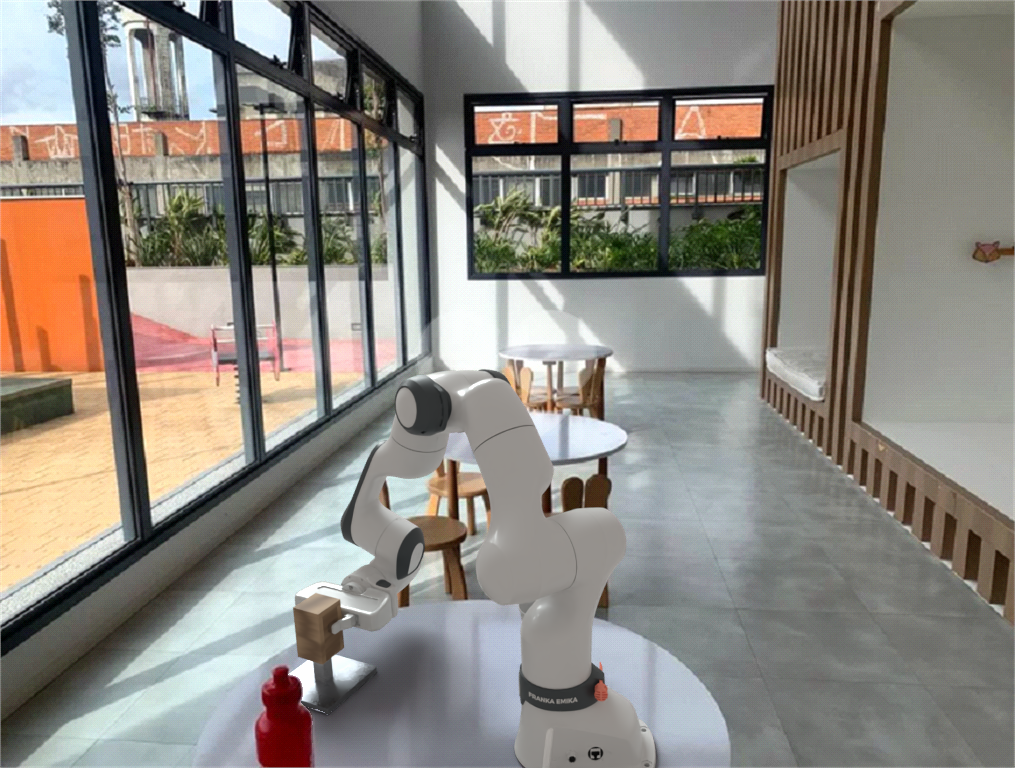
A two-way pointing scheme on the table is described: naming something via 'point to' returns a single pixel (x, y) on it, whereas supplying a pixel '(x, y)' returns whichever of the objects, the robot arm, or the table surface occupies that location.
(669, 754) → the table surface
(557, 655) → the robot arm
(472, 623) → the table surface
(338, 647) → the brown wooden block
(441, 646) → the table surface
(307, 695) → the metal square peg base
